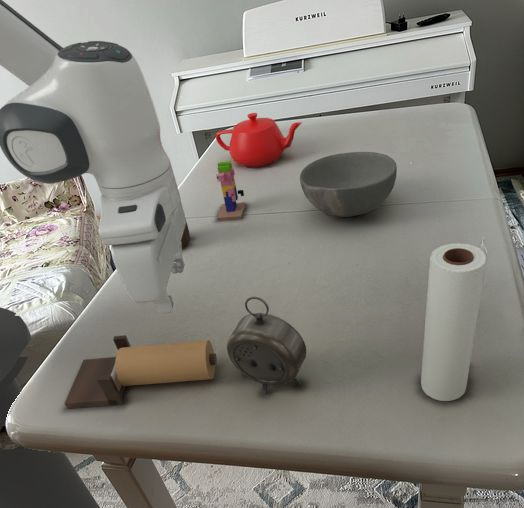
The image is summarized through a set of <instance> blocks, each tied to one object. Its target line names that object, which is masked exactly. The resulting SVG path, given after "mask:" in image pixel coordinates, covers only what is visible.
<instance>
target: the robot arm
mask: <svg viewBox="0 0 524 508" xmlns="http://www.w3.org/2000/svg"><path fill="white" fill-rule="evenodd" d="M0 66H1V67H2V68H4V69H5V70H6V71H7V72H9V73H10V74H12V75H13V76H15V77H16V78H17V79H18V80H20V81H21V82H23V83H24V84H25V85H27V86H28V87H26V88H25V89H24V90H22V91H21V92H19V93H17V94H16V95H14V96H13V97H11V99H9V100H8V101H7V102H6V103H5V104H4V105H3V106H1V108H0V149H1V151H2V153H3V155H4V156H5V158H6V159H7V161H8V162H9V163H10V164H11V165H12V166H13V168H14V169H16V170H17V172H18V173H20V174H22V175H23V176H25V177H26V178H28V179H30V180H32V181H34V182H38V183H41V184H46V185H52V184H57V183H62V182H66V181H70V180H72V179H75V178H78V177H80V176H82V175H84V174H90V175H92V176H93V177H94V179H95V182H96V184H97V186H98V189H99V192H100V208H101V210H100V219H99V224H98V235H99V238H100V240H101V242H102V244H103V245H104V246H110V254H111V258H112V261H113V265H114V267H115V268H116V271H117V274H118V276H119V278H120V281H121V284H122V285H123V287H124V289H125V291H126V294H127V295H128V297H129V298H130V300H131V301H133V302H134V303H137V304H148V303H153V304H155V305H156V308H157V311H158V313H159V314H162V315H165V314H171V313H172V312H173V309H174V306H175V303H174V301H173V298H172V295H169V294H168V293H167V287H168V283H169V281H170V277H171V275H172V274H182V273H183V272H184V269H185V266H186V265H185V261H184V257H183V249H182V246H181V238H182V235H183V232H184V229H185V225H186V222H187V218H186V214H185V210H184V208H183V203H182V198H181V194H180V190H179V188H178V183H177V180H176V177H175V173H174V170H173V167H172V163H171V159H170V157H169V155H168V154H167V152H166V151H165V148H164V146H163V144H162V139H161V125H160V124H161V123H160V120H159V116H158V114H157V110H156V107H155V104H154V100H153V98H152V94H151V91H150V89H149V86H148V84H147V81H146V79H145V76H144V73H143V71H142V69H141V67H140V65H139V62H138V61H137V59H136V58H135V57H134V55H133V53H132V52H131V51H130V50H128V48H126V47H125V46H122V45H120V44H118V43H115V42H111V41H104V40H88V41H87V42H85V41H84V42H76V43H72V44H69V45H66V46H64V47H63V46H61V45H60V44H59V43H57V42H56V41H55V40H53V38H51V37H50V36H48V35H47V34H46V33H45V32H44V31H42V30H41V29H40V28H39V27H37V26H36V25H35V24H33V23H32V22H30V21H29V20H28V19H27V18H26V17H24V16H23V15H22V14H20V13H19V12H18V11H17V10H16V9H14V8H13V7H12V6H10V5H9V4H8V3H7V2H5V1H4V0H0ZM181 203H182V204H181ZM185 218H186V219H185Z"/></svg>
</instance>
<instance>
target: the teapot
mask: <svg viewBox="0 0 524 508" xmlns="http://www.w3.org/2000/svg"><path fill="white" fill-rule="evenodd" d="M246 116H247V119H245V120H242V121H240V122H238V123H237V124H235V125H234V126H233V128H232V129H222V130H219V131H218V132H216V133H215V140H216V142H217V144H218V145H219V146H220V147H221V148H222V149H223V150H224V151H228V152H229V155H230V157H231V159H232V160H233V161H234V162H235V163H236V164H238V165H240V166H243V167H246V168H261V167H266V166H269V165H271V164H273V163H275V162H276V161H277V160H278V159H279V158H280V157H282V156H283V153H284V151H285V150H286V149H288V148H291V146H292V143H293V141H294V137H295V133H296V130H297V129H298V128H299V127H300V126H301V124H303V122H301V121H299V122H298V121H297V122H294V123H292V124H290V127H289V128H288V129H289V130H288V133H287V135H286V137H284V134H283V133H282V131H281V129H280V128H279V125H278V124H277V123H276V121H275V120H274V119H272V118H271V117H258V113H257V112H251V113H248V114H247V115H246ZM226 134H227V135H228V134H231V137H230V141H229V145H227V144H226V143H225V142H224V141H223V139H222V137H221V135H226Z"/></svg>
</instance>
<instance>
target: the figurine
mask: <svg viewBox="0 0 524 508" xmlns="http://www.w3.org/2000/svg"><path fill="white" fill-rule="evenodd" d="M235 175H236V172H235V169H234V168H233V164H232V161H231V160H228V161H220V162H217V171H216V172H215V176H216V181H217V182H220V186H221V192H222V195H223V200H224V203H222V205H221V206H220V210H219V212H218V215H217V217H216V220H217V221H230V220H242V218H243V215H244V211H245V209H246V206H247V203H246V202H243V201H242V202H237V201H238V199H239V195H240V197H244V196H245V192H244V189H238V190H237V185H236V180H235Z"/></svg>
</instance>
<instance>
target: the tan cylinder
mask: <svg viewBox="0 0 524 508" xmlns="http://www.w3.org/2000/svg"><path fill="white" fill-rule="evenodd" d="M115 357H116V360H115V365H114V368H113V370H112V373H111V376H112V378H113V380H114V382H116V379H117V377H118V380H119V382H120V383H121V385H123V386H125V387H129V386H131V387H132V386H141V385H154V384H155V385H156V384H167V383H179V382H180V383H181V382H193V381H204V380H213V379H214V377H215V373H216V366H217V362H218V356H217V354H216V353H215V352H214V346H213V343H212V342H211V340H209V339H203V340H193V341H181V342H171V343H169V342H168V343H159V344H148V345H138V346H137V345H136V346H131V347H124V348H120V349H119V350H118V349H117V352H116V355H115Z"/></svg>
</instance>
